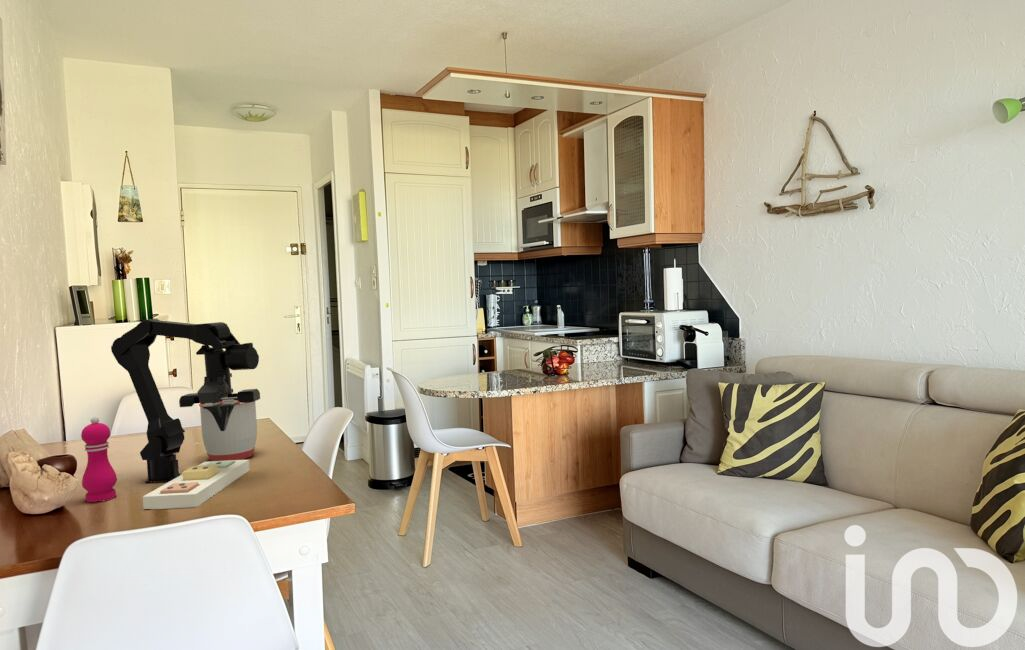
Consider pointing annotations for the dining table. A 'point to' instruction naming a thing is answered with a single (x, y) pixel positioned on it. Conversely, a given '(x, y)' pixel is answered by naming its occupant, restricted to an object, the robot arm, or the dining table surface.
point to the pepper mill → (98, 463)
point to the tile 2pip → (200, 472)
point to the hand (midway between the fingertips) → (223, 430)
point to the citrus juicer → (230, 433)
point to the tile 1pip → (222, 463)
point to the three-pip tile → (179, 488)
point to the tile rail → (197, 494)
